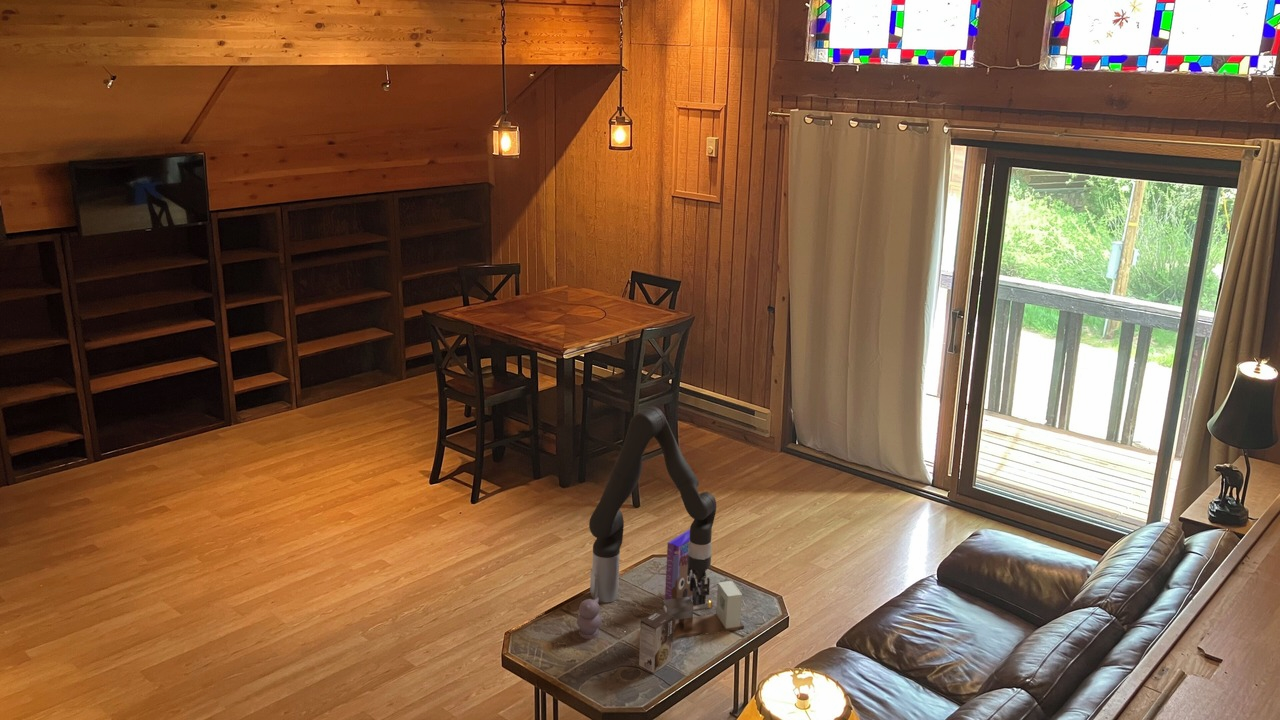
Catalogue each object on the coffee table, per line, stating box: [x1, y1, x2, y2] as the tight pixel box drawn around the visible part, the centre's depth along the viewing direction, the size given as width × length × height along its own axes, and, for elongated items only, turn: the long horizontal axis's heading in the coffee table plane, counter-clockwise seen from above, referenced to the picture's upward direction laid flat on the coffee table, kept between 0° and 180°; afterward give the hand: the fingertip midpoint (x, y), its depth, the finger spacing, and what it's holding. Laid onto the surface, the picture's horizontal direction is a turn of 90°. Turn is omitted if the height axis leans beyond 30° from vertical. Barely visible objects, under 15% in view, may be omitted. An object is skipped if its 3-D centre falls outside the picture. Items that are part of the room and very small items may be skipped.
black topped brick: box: [662, 587, 713, 613], centre depth 327 cm, size 16×3×8 cm, turn 107°
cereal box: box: [664, 528, 701, 600], centre depth 345 cm, size 17×5×24 cm, turn 143°
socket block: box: [715, 580, 743, 628], centre depth 332 cm, size 5×9×12 cm, turn 17°
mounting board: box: [661, 597, 745, 639], centre depth 330 cm, size 27×9×10 cm, turn 107°
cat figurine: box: [576, 598, 603, 640], centre depth 323 cm, size 8×8×12 cm
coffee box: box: [638, 608, 674, 674], centre depth 308 cm, size 9×6×16 cm
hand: (697, 597), depth 327 cm, fingers open, 8 cm apart
